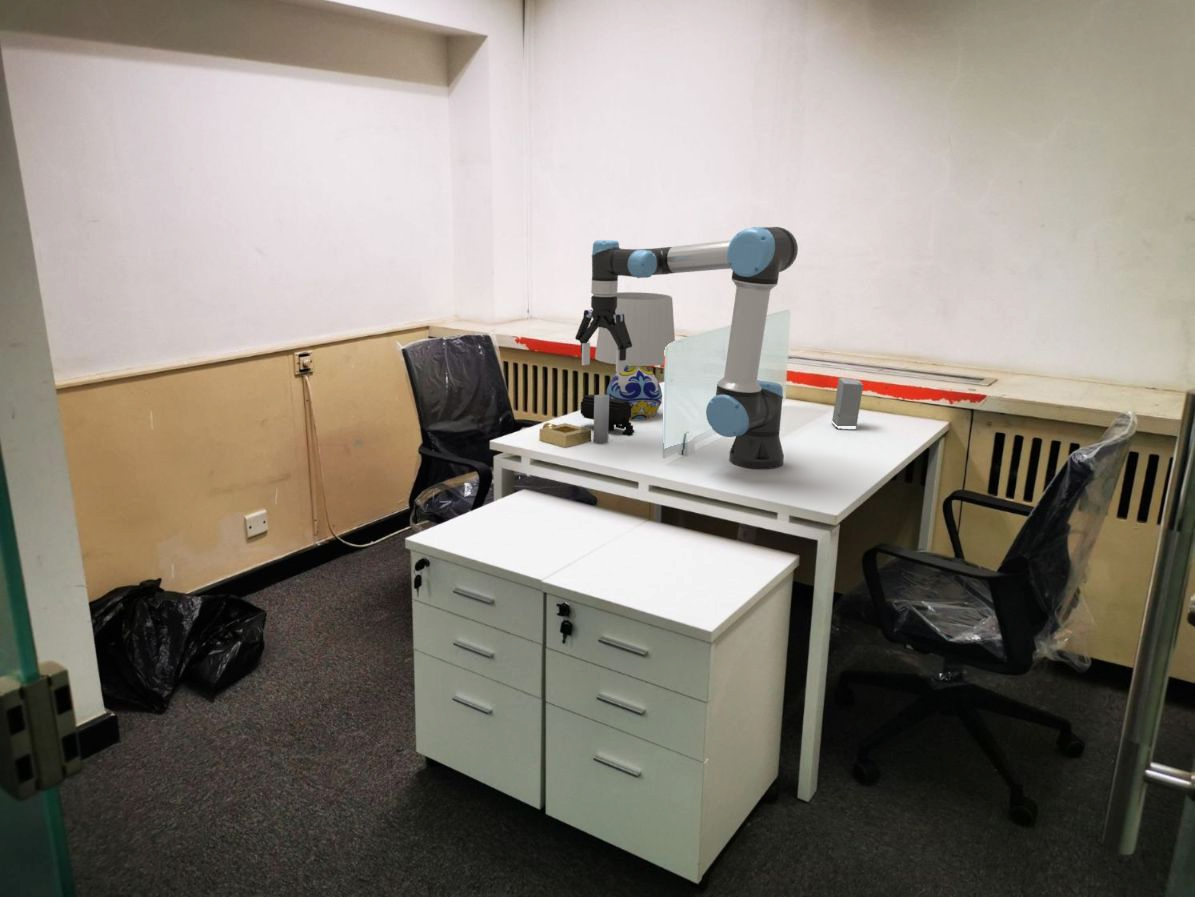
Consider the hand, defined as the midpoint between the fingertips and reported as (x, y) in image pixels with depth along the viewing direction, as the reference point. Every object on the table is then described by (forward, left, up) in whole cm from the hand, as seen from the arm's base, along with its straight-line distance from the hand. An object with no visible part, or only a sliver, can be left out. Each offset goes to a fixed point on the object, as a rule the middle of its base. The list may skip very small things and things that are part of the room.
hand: (602, 368), depth 265 cm
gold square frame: (+9, +7, -22) cm, 25 cm away
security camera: (+8, -12, -23) cm, 27 cm away
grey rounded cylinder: (0, 0, -22) cm, 22 cm away
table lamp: (+16, -34, -23) cm, 44 cm away
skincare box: (-42, -73, -23) cm, 87 cm away
